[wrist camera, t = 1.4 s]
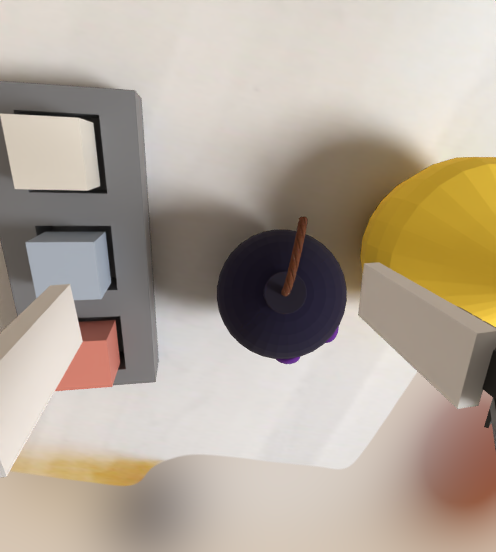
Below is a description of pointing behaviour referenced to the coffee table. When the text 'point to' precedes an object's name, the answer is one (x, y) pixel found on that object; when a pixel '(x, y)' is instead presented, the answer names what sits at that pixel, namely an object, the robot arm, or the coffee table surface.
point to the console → (90, 214)
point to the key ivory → (51, 152)
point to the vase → (442, 233)
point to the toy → (282, 294)
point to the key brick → (93, 357)
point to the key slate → (70, 263)
